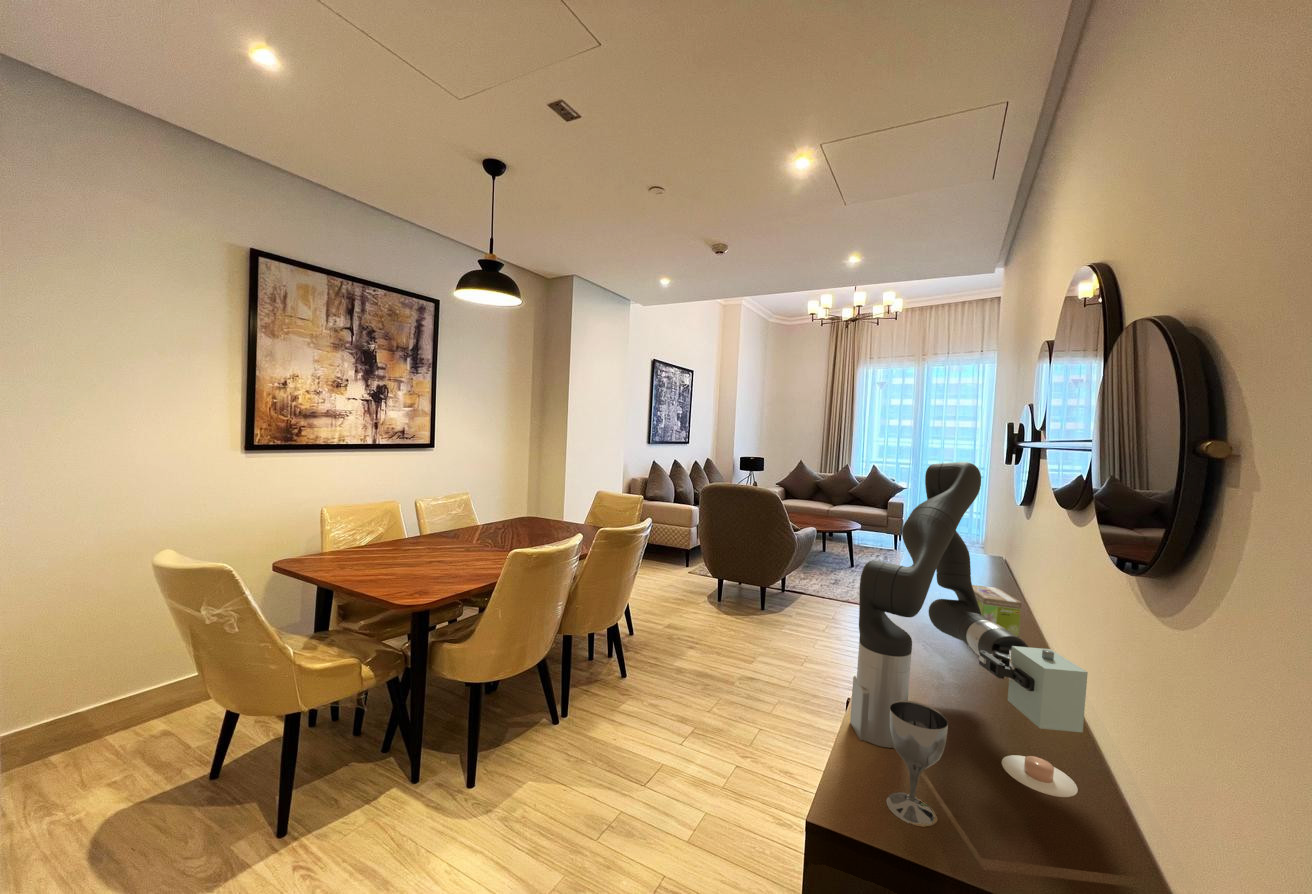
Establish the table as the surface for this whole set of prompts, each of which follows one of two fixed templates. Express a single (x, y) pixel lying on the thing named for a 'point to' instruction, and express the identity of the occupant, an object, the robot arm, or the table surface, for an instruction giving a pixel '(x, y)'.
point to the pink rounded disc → (1039, 769)
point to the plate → (1058, 787)
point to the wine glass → (915, 753)
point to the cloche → (1049, 689)
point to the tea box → (999, 607)
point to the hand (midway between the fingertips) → (1055, 687)
